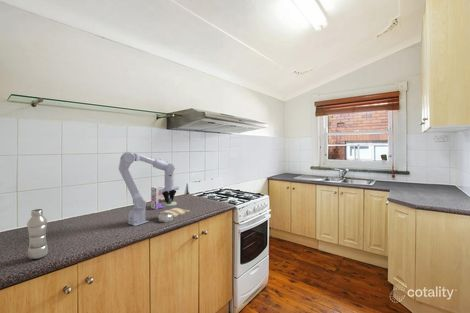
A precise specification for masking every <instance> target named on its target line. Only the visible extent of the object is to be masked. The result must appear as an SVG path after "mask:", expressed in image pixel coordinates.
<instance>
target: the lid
mask: <svg viewBox="0 0 470 313" xmlns="http://www.w3.org/2000/svg"><path fill="white" fill-rule="evenodd" d="M177 204H178V203H177V202H176V201H173V202H172V198H169V202H168V203H166V202H164V203H162V206H164V207H165V208H169V207H175V206H177Z"/></svg>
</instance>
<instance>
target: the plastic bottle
mask: <svg viewBox="0 0 470 313" xmlns="http://www.w3.org/2000/svg"><path fill="white" fill-rule="evenodd" d="M43 214H44V211H43V208H36V209H32V210H31V211H30V215H31V217H30V218H29V220H28V221H27V223H26V225H27V232H28V237H29V238H28V240H29V241H28V242H29V243H28V249H27V255H28V258H29V259H30V260H37V259H41V258H43V257H45V256H47V254H48V253H49V247H48V242H47V226H48V220H47V217H45V216H44V215H43Z"/></svg>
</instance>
